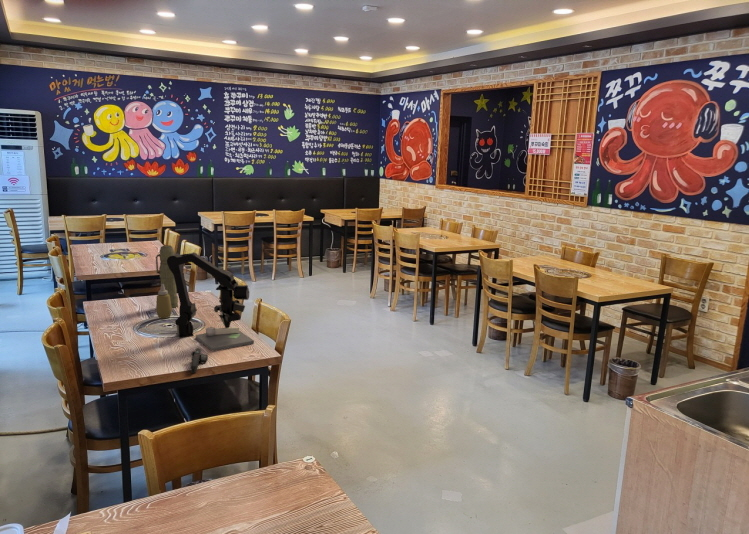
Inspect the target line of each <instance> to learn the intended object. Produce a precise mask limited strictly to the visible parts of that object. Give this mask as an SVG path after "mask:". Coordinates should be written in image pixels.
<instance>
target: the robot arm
mask: <svg viewBox="0 0 749 534" xmlns="http://www.w3.org/2000/svg"><path fill="white" fill-rule="evenodd" d="M187 263H192V264H194V265H195V266H197V267H198V268H200V269H201V270H202V271H205V272H206V273H208V274H209V275H211V276H212V277H213V278H214V279H215V281H216V282H217V283H218V286H217V287H216V288H215V291H216V290H217V291H220V300H219V302H218V303H219V304H217V305H214V307H213V311H214V312H215V313H218V311H219V313H220V314H219V315H218V316H219V319H220V320H221V322H222V324H223V326H224V328H229V327H231V323H232V322H235V321H241V315H240V314H239V313H237V311H238V312H241V313H244V311H245V307H246V305H244V304H243V303H241V302H240V300H241V301H242V300H245V301H248V300H249V298H250V289H249V285H247V284H246V285H242V284H241V285H240V284H239V283H238V281H236V279H235V277H234V273H232V272H231V271H228V270H225V269H223V268H219V267H217V266H216V265H214V264H213V263H211V262H210V261H208V259H207V260H206V259H205V258H203V257H202V256H200V255H199V254H198V253H196V252H194V251H193V252H190V253H182V254H180V253H174V255H172V256H170V257H168V259H167V265H168V267H169V269H170V271H171V272H172V273H173V275H174V279H175V284H176V291H177V296H178V301H179V307H178V308H179V311H178V312H179V313H178V314H179V317H178V318H176V319H175V320H174V323H175V325H176V333H175V334H176V336H178V337H179V338H185V337H191V336H194V325H193V323H192V321H193V318H194V317H195V316H196V315H197V311H198V309H197V308H196V302H194V303H192V301H191V300H190V294H189V291H188V286H187V283H186V278H185V277H186V276H185V274H184V269H185V264H187Z"/></svg>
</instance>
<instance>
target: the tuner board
mask: <svg viewBox="0 0 749 534" xmlns="http://www.w3.org/2000/svg"><path fill="white" fill-rule="evenodd" d="M196 338H197V339H196ZM195 339H196V340H198V341H199V342H200V343H201V344H202V345H203V344H204V345H203V346H205V347H206V348H207V349H208V350H209V349H210V350H209V351H210V352H217V351H222V350H221V349H223V350H228V349H231V348H232V347H233V348H238V347H242V346H243V345H244V346H248V344H249V345H253V343H254V344H255V340H254V339H253V338H251V337H249V335H247V334H246V333H244V332H242V331H241V330H239V333H229V334H217V335H214V336H206V332H205V333H204V332H203V333H199V334H195ZM237 346H238V347H237ZM227 348H228V349H227ZM233 348H232V349H233ZM216 350H217V351H216Z"/></svg>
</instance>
